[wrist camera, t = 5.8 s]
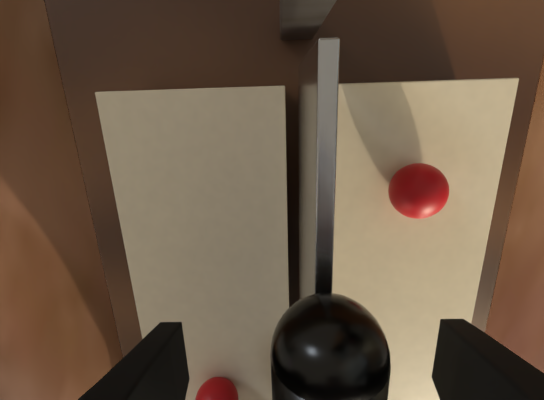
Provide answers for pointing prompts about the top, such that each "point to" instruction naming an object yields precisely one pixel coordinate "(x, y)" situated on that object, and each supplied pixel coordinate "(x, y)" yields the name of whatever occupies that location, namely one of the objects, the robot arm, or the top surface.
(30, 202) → the top surface
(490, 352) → the robot arm
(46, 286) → the top surface
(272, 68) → the cutting board
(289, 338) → the cleaver knife
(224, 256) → the cake
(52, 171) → the top surface
